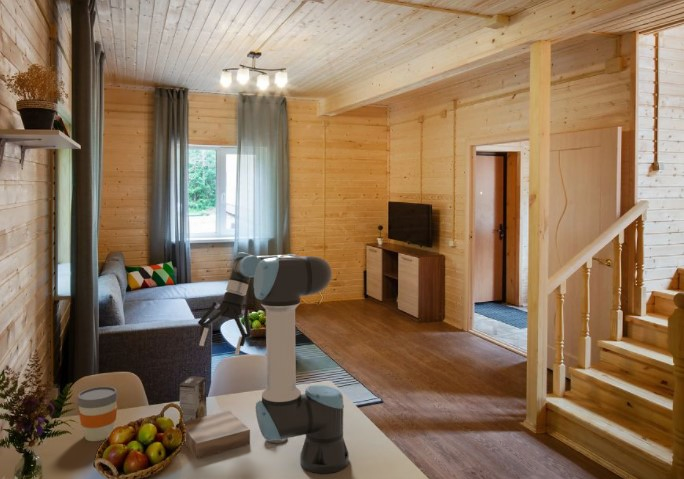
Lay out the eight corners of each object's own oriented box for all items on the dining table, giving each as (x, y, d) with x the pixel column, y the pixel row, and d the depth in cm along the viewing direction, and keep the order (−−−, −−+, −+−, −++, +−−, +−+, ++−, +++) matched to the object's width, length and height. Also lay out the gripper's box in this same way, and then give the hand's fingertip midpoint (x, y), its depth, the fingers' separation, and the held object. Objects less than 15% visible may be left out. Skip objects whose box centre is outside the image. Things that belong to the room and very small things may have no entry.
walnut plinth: (250, 443, 179) (249, 429, 178) (196, 458, 169) (196, 443, 168) (229, 423, 194) (229, 410, 193) (179, 436, 184) (179, 422, 183)
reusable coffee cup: (126, 432, 186) (125, 391, 185) (92, 447, 176) (90, 403, 175) (105, 423, 193) (103, 383, 192) (71, 437, 183) (69, 394, 182)
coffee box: (191, 418, 199) (190, 375, 197) (207, 419, 197) (206, 376, 196) (179, 428, 190) (178, 384, 188) (196, 430, 189) (195, 385, 187)
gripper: (269, 302, 202) (253, 359, 197) (207, 287, 205) (190, 342, 200) (265, 299, 195) (248, 358, 190) (200, 284, 198) (183, 341, 193)
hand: (218, 350), depth 195 cm, fingers open, 13 cm apart
